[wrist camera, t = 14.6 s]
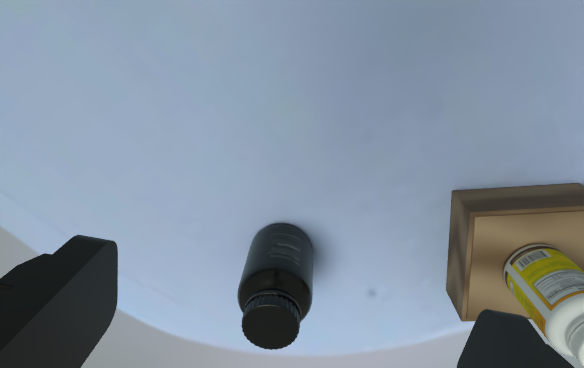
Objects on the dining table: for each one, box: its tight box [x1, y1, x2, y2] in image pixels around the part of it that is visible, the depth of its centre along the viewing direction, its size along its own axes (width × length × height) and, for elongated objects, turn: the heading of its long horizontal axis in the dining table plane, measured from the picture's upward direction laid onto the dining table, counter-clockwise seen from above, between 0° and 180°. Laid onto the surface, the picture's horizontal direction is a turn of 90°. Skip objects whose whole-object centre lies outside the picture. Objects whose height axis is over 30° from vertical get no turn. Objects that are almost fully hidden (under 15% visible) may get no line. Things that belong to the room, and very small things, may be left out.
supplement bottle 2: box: [503, 244, 584, 366], centre depth 31 cm, size 6×6×10 cm
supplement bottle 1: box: [238, 224, 313, 350], centre depth 37 cm, size 7×7×12 cm
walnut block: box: [446, 183, 584, 321], centre depth 38 cm, size 12×12×5 cm
